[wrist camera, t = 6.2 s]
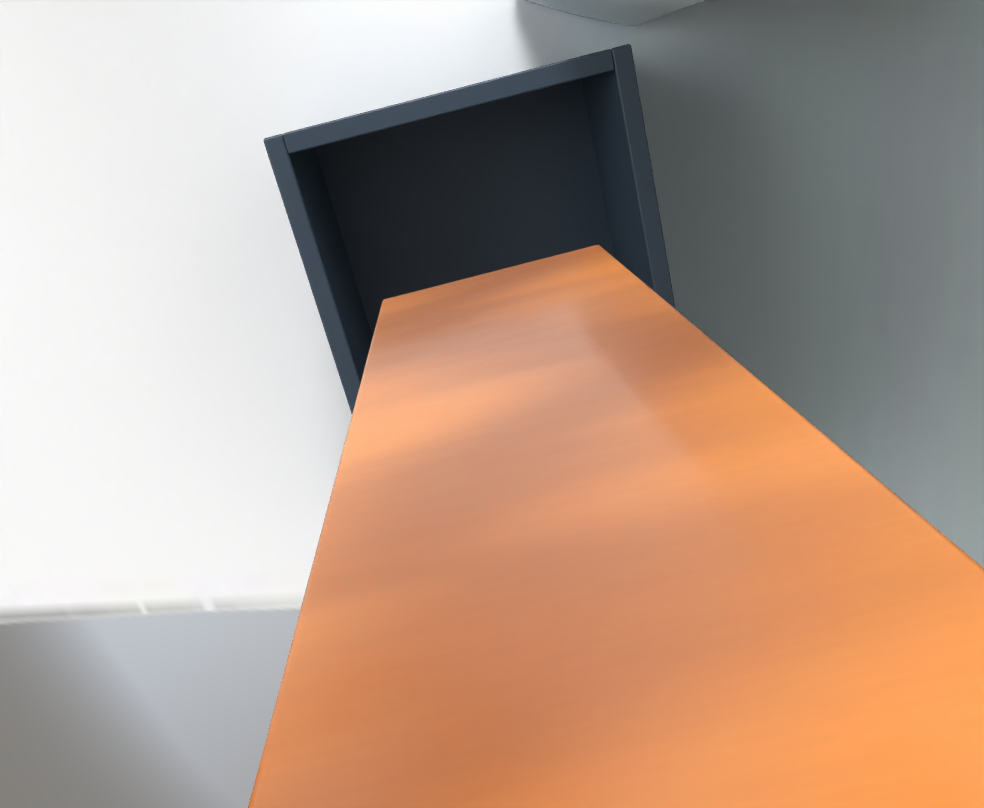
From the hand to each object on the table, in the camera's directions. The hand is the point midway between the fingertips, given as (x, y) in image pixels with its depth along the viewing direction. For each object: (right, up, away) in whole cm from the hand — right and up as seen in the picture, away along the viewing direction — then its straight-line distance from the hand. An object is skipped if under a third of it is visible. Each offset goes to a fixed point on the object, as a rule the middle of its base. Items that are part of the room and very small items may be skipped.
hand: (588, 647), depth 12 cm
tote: (-1, +8, +21) cm, 22 cm away
